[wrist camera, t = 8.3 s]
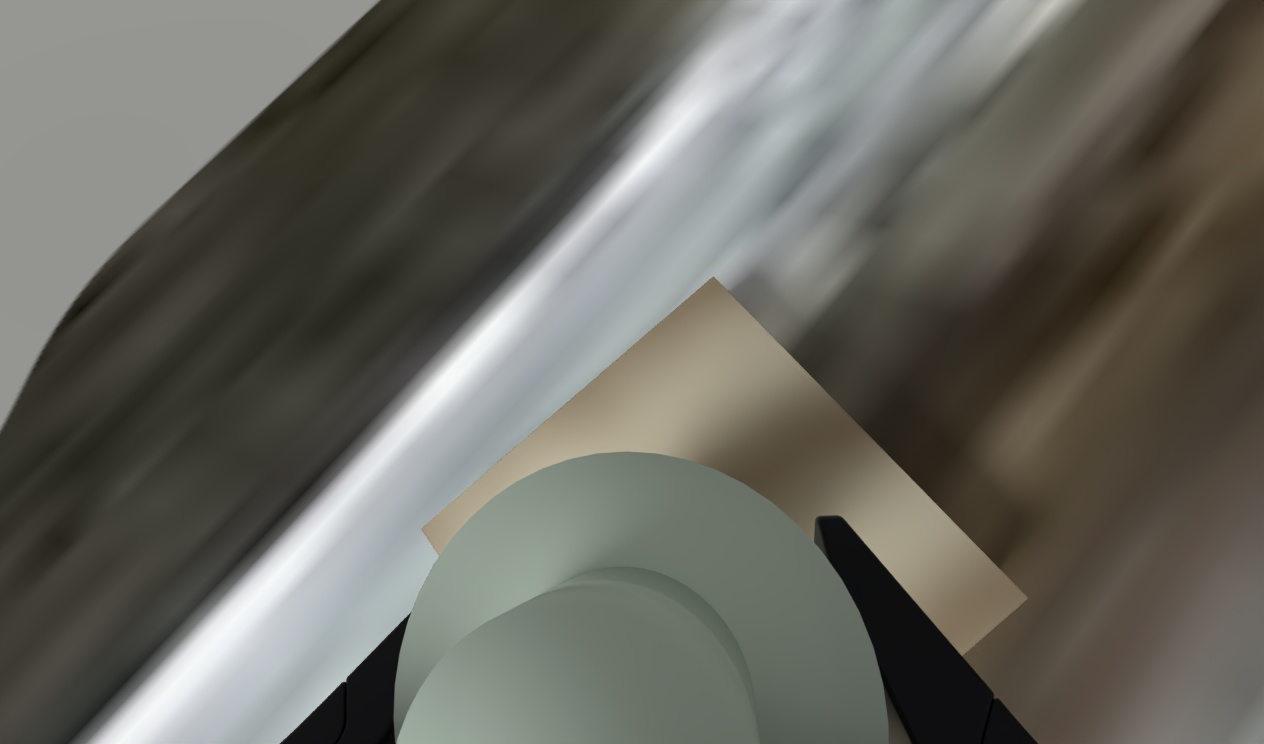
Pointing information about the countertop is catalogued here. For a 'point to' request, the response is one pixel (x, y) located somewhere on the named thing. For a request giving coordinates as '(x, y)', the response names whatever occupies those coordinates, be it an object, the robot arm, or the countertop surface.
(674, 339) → the birch pad
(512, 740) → the sage bottle
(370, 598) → the countertop surface
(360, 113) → the countertop surface
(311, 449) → the countertop surface
